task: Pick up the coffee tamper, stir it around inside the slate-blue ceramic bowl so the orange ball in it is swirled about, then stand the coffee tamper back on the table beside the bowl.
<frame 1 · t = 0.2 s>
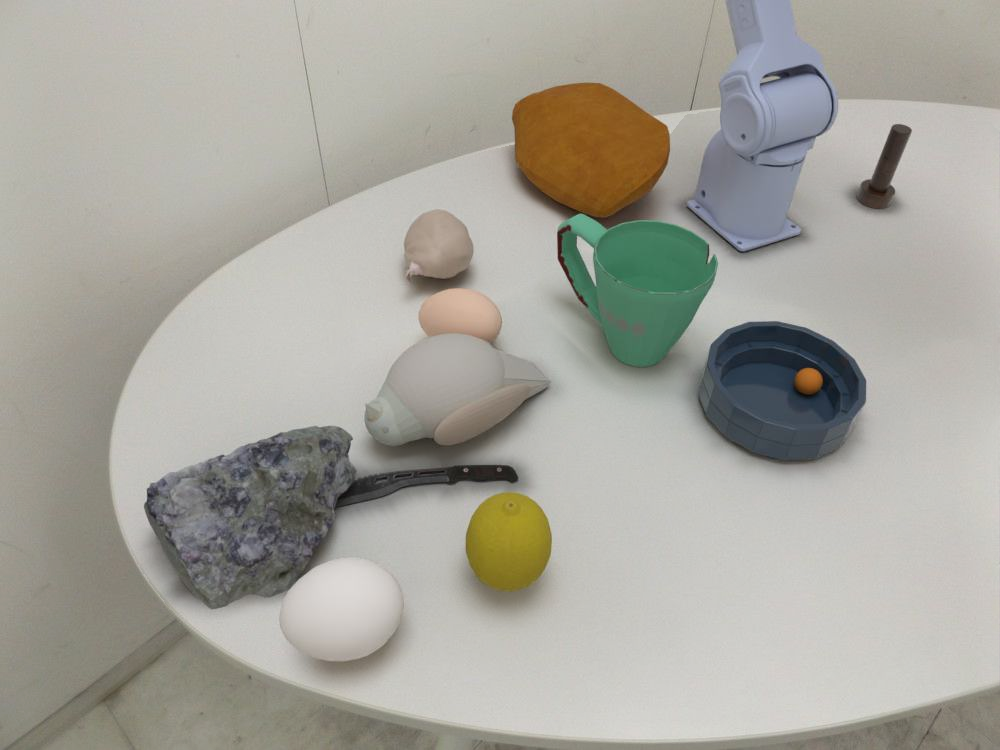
knife: (413, 505, 61), on the table, touching mineral rock
egg: (405, 594, 52), point 4 cm above the table
egg 2: (499, 325, 69), point 4 cm above the table
ball: (808, 381, 70), point 2 cm above the table, touching bowl
bowl: (773, 406, 70), on the table
bread: (601, 190, 94), on the table
garlic bulb: (467, 240, 81), point 2 cm above the table
coffee tamper: (873, 199, 93), on the table
mineral rock: (233, 460, 59), point 4 cm above the table, touching knife
lemon: (505, 578, 57), on the table
mug: (615, 336, 75), on the table
decorative bird: (459, 414, 68), on the table
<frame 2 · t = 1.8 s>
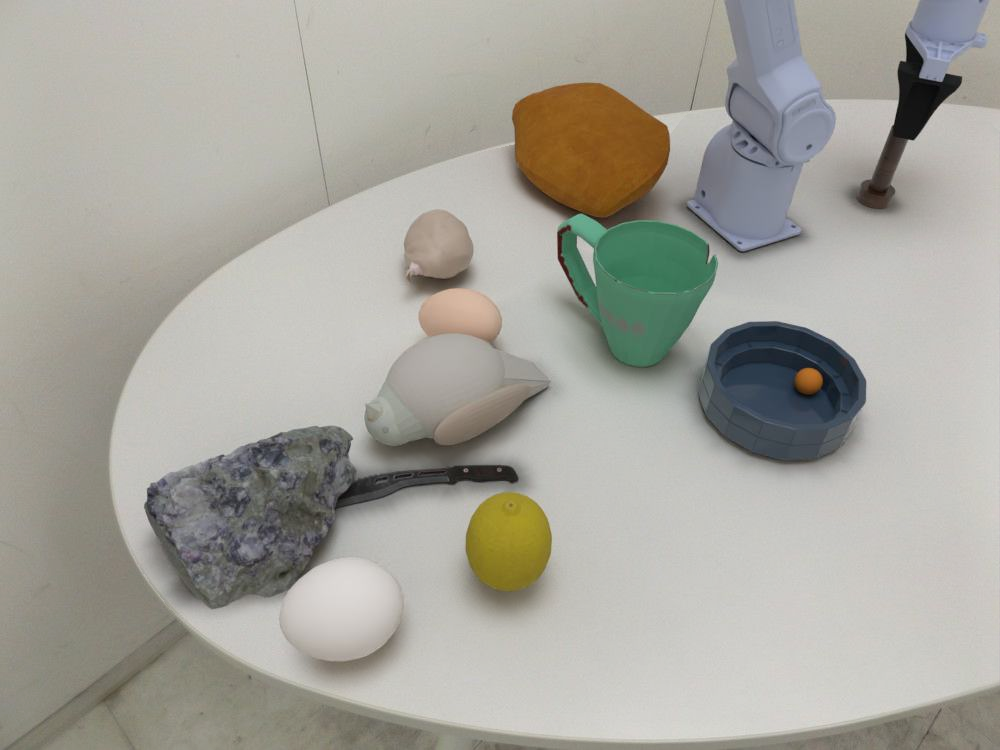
hand: (906, 120, 86), 9 cm above the table, tool pointing down, fingers open, 7 cm apart
knife: (413, 505, 61), on the table
mineral rock: (233, 460, 59), point 4 cm above the table
everything else where it was.
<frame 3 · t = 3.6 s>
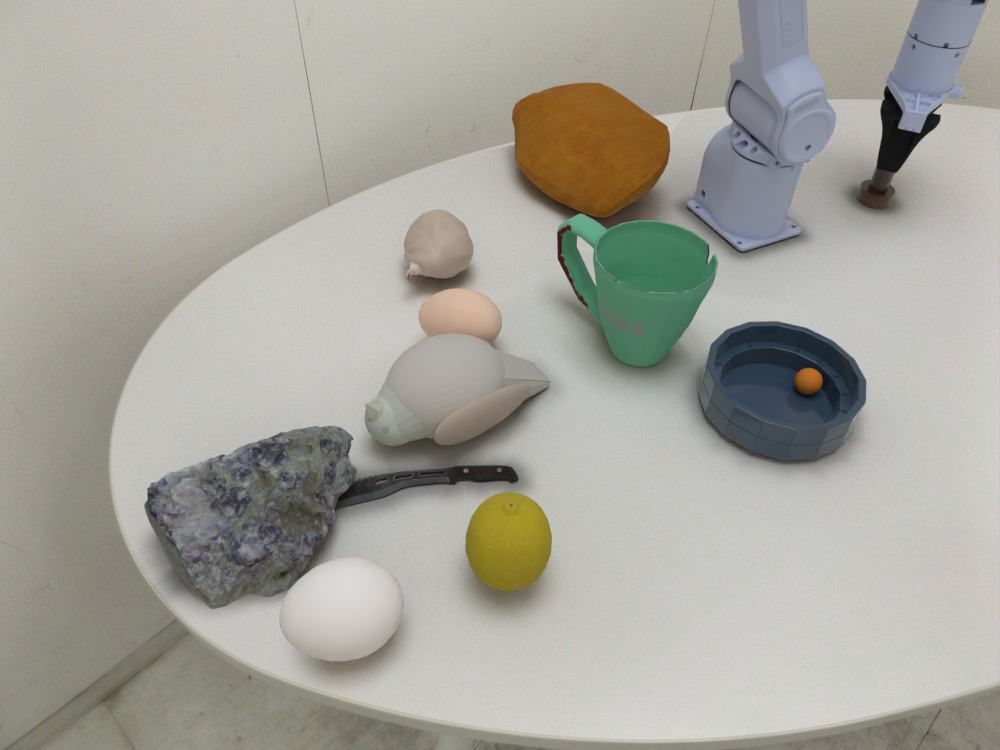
hand: (887, 163, 90), 4 cm above the table, tool pointing down, fingers closed on coffee tamper, 2 cm apart
coffee tamper: (873, 199, 93), on the table, touching gripper
everything else where it was.
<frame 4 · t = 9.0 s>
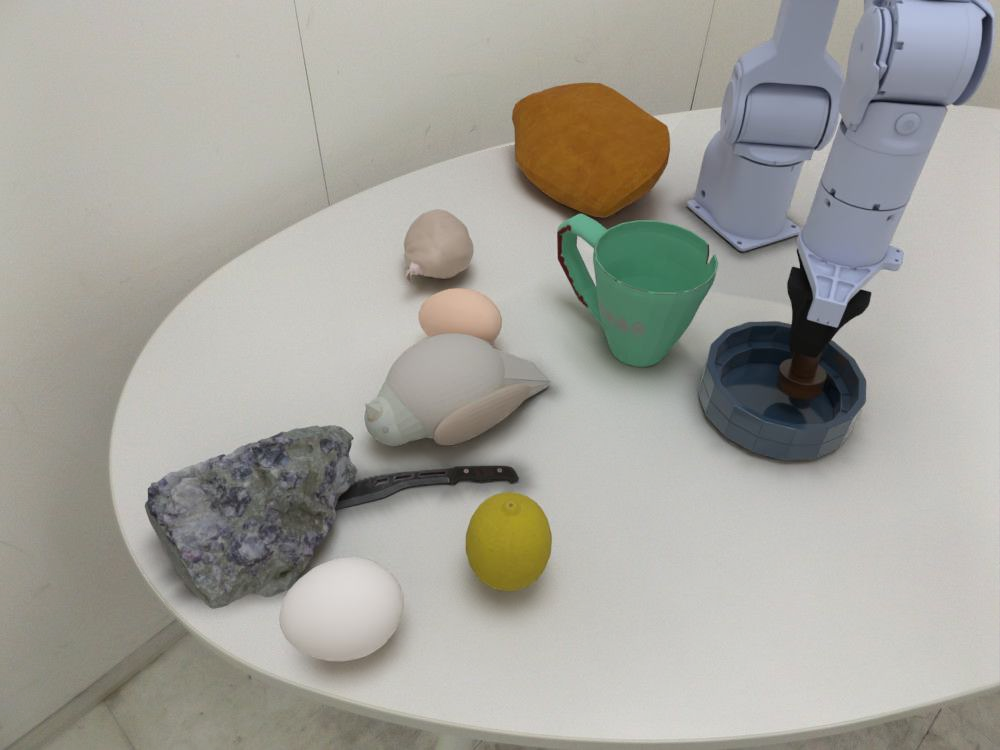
hand: (805, 340, 66), 7 cm above the table, tool pointing down, fingers closed on coffee tamper, 2 cm apart
knife: (414, 506, 61), on the table, touching mineral rock
ball: (809, 378, 70), point 2 cm above the table, tilted 24°, touching bowl, coffee tamper
coffee tamper: (798, 386, 68), point 2 cm above the table, tilted 9°, touching ball, gripper
mineral rock: (234, 460, 59), point 4 cm above the table, touching knife
everything else where it was.
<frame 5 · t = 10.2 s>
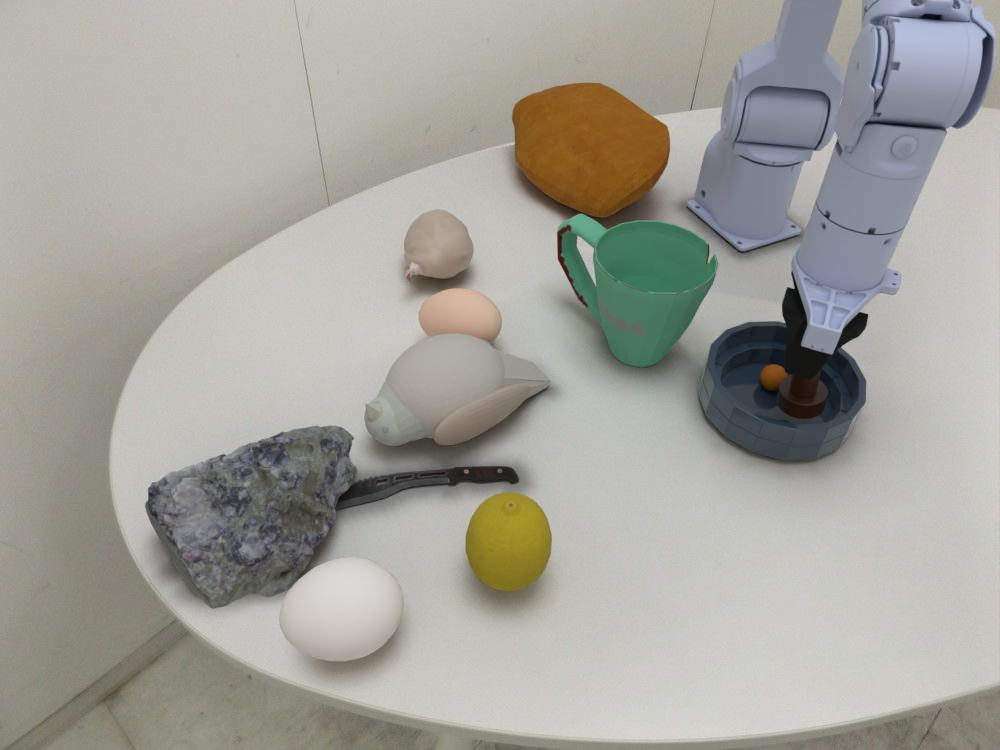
hand: (801, 363, 64), 6 cm above the table, tool pointing down, fingers closed on coffee tamper, 2 cm apart
ball: (773, 377, 70), point 2 cm above the table, tilted 130°, touching bowl
coffee tamper: (800, 403, 66), point 2 cm above the table, tilted 8°, touching gripper
everything else where it was.
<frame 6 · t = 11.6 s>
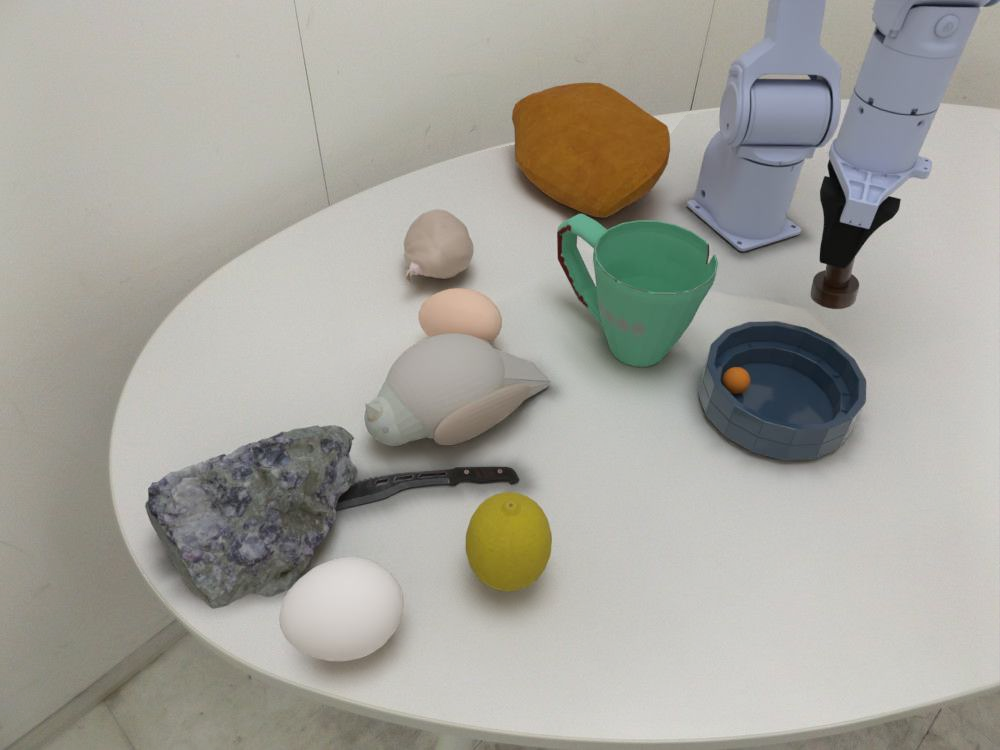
hand: (834, 254, 68), 10 cm above the table, tool pointing down, fingers closed on coffee tamper
ball: (736, 380, 69), point 2 cm above the table, tilted 62°, touching bowl
coffee tamper: (833, 296, 71), point 6 cm above the table, tilted 7°, touching gripper
everything else where it was.
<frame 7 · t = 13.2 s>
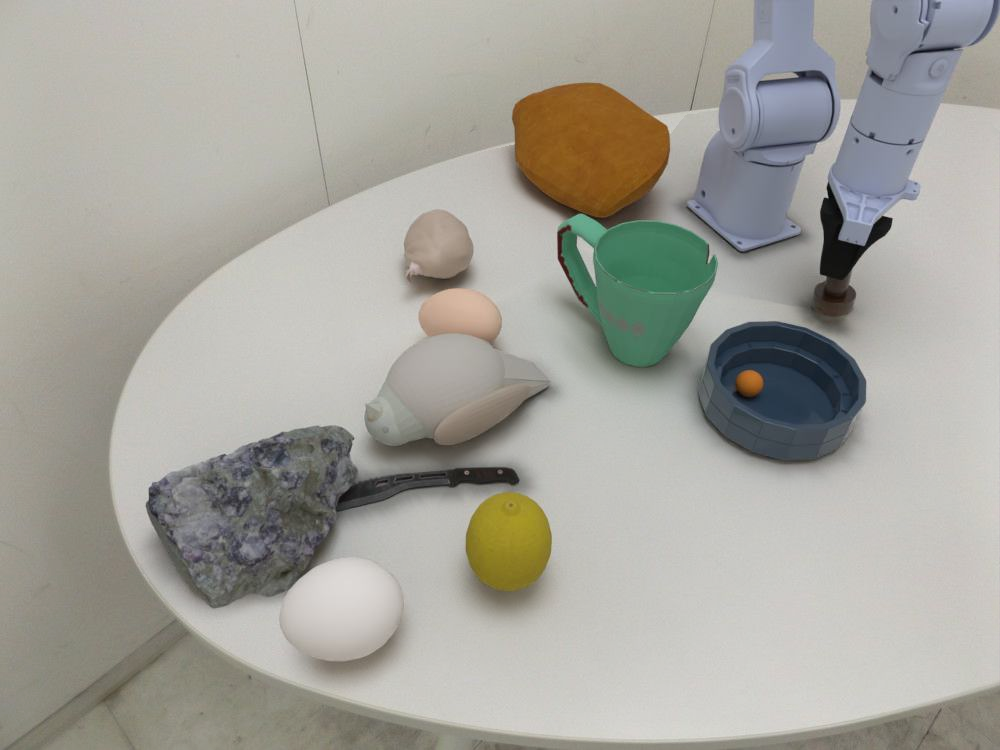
hand: (833, 267, 75), 5 cm above the table, tool pointing down, fingers closed on coffee tamper, 2 cm apart
ball: (749, 383, 69), point 2 cm above the table, tilted 107°, touching bowl
coffee tamper: (832, 305, 78), point 1 cm above the table, tilted 8°, touching gripper
everything else where it was.
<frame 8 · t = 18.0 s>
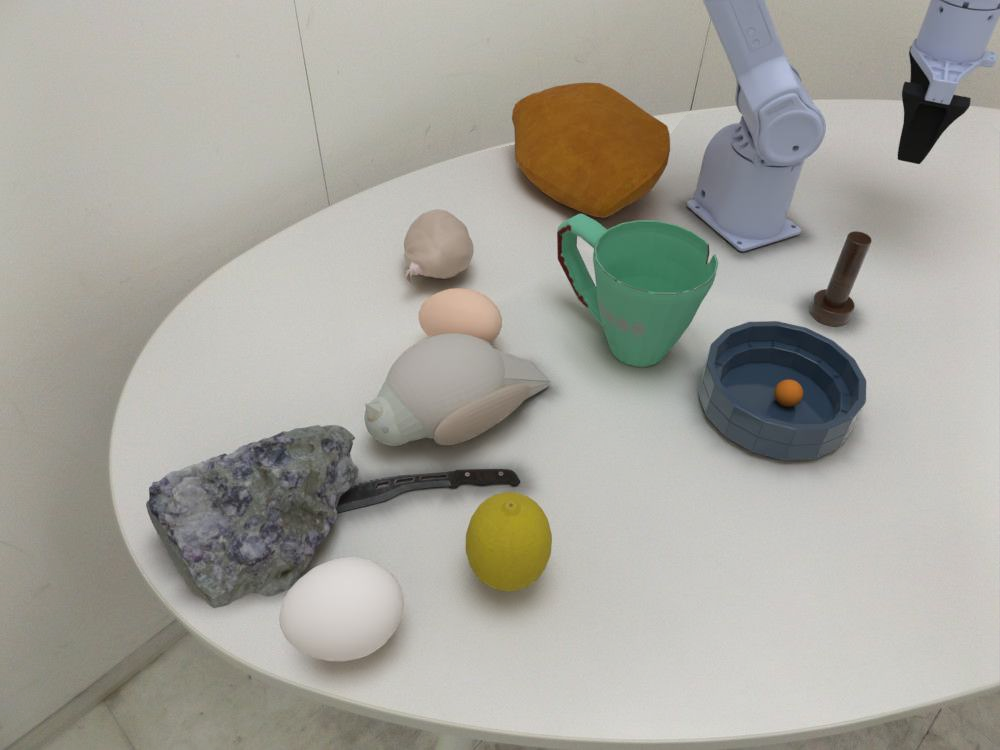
hand: (911, 141, 82), 10 cm above the table, tool pointing down, fingers open, 7 cm apart
knife: (415, 510, 61), on the table
ball: (788, 393, 69), point 2 cm above the table, tilted 86°, touching bowl
coffee tamper: (829, 313, 78), on the table
mineral rock: (235, 459, 59), point 4 cm above the table
everything else where it was.
at the end: ball inside the target area in the bowl (0.9 cm from its centre), point 1.6 cm above the bowl's base; coffee tamper 1.1 cm from the target spot, on the table; coffee tamper tilted 0° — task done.
